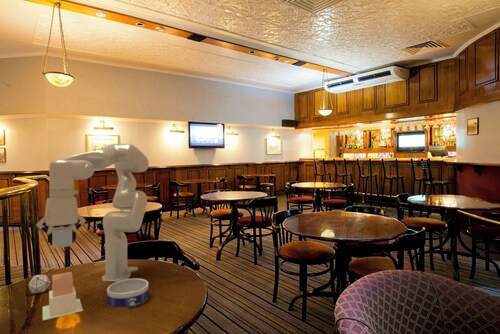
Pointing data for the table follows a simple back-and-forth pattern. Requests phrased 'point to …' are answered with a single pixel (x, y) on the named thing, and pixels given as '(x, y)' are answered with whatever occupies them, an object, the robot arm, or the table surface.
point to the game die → (39, 283)
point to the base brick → (62, 303)
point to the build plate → (47, 315)
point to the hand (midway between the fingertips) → (62, 242)
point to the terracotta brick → (62, 284)
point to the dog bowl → (128, 293)
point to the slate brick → (61, 237)
